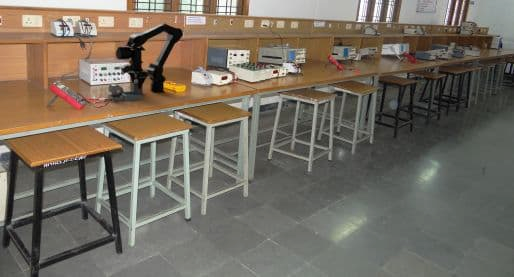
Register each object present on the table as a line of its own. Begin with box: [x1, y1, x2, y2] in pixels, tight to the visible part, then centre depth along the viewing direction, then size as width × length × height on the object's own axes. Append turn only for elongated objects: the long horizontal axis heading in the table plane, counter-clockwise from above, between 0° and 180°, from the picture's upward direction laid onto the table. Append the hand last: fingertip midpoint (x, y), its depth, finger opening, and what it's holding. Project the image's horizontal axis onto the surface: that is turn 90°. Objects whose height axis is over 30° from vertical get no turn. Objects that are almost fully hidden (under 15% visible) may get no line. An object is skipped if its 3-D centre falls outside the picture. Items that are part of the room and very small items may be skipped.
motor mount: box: [107, 83, 143, 102], centre depth 219 cm, size 15×10×8 cm, turn 125°
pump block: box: [130, 80, 144, 95], centre depth 232 cm, size 5×5×8 cm
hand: (136, 87), depth 233 cm, fingers open, 9 cm apart
